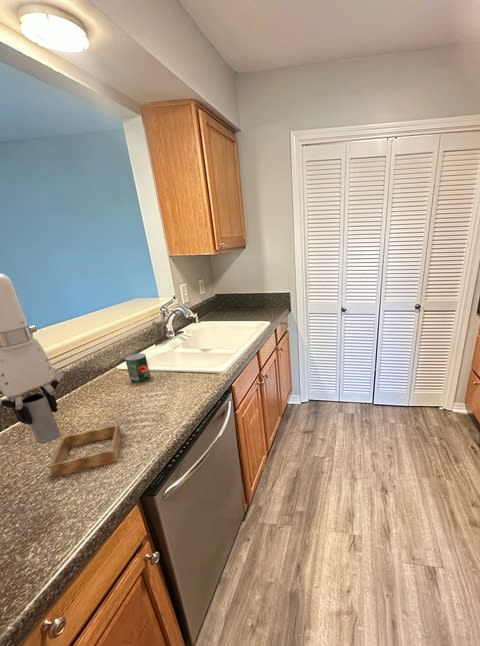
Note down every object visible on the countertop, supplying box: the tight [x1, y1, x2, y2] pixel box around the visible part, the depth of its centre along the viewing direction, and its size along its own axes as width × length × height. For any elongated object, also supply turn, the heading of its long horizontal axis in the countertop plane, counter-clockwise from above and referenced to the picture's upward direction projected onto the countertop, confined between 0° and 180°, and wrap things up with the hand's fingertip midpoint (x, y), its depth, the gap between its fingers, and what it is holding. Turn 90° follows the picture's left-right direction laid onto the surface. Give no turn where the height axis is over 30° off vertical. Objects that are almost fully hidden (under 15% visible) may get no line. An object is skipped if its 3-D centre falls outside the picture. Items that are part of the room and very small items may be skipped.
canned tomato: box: [124, 353, 152, 385], centre depth 136 cm, size 8×8×11 cm
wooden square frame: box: [48, 424, 122, 478], centre depth 91 cm, size 15×15×4 cm
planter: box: [22, 392, 61, 444], centre depth 72 cm, size 4×4×10 cm
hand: (39, 416), depth 71 cm, fingers closed on planter, 4 cm apart
